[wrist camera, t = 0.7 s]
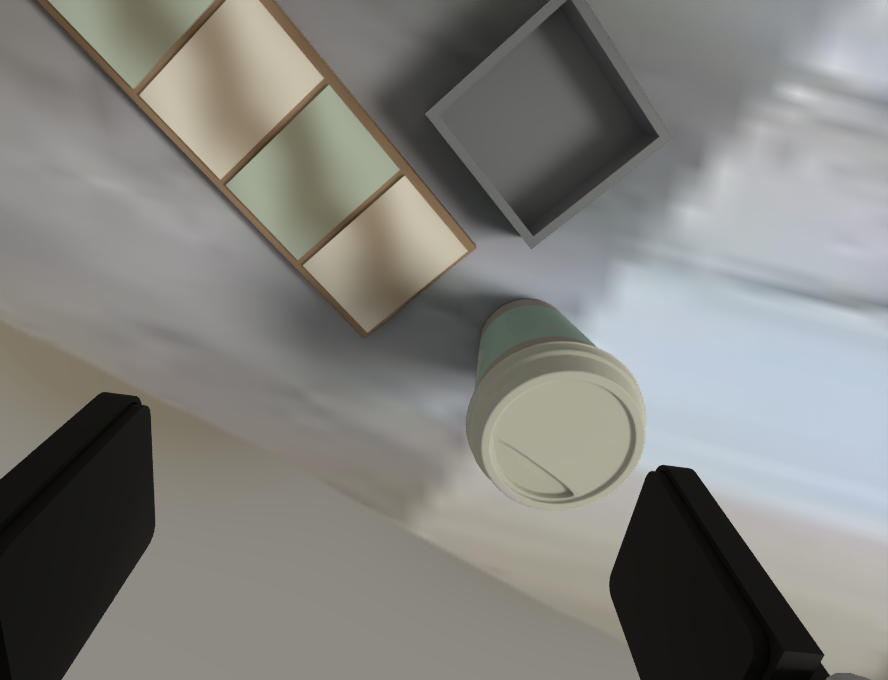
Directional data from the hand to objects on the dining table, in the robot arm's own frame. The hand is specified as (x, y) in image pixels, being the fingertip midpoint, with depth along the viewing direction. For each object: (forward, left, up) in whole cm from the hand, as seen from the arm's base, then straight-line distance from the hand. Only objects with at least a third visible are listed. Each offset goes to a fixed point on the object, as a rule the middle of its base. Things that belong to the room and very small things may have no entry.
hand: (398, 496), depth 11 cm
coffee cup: (0, +10, -25) cm, 27 cm away
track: (+3, -12, -25) cm, 28 cm away
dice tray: (-9, 0, -25) cm, 26 cm away
